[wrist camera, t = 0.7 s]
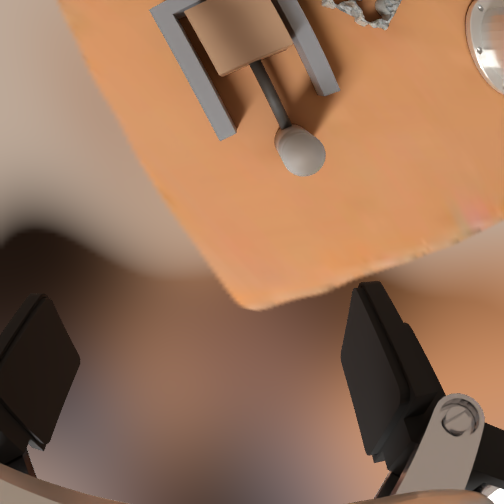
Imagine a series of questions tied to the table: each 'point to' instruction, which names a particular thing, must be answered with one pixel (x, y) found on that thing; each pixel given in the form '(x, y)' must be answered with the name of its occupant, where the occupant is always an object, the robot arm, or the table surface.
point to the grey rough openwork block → (384, 6)
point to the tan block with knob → (256, 65)
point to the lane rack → (199, 77)
